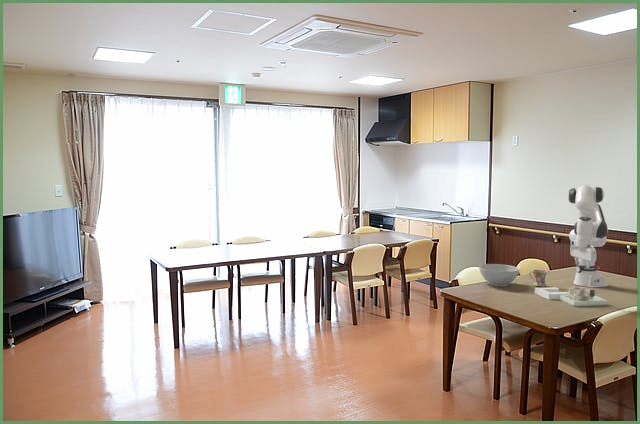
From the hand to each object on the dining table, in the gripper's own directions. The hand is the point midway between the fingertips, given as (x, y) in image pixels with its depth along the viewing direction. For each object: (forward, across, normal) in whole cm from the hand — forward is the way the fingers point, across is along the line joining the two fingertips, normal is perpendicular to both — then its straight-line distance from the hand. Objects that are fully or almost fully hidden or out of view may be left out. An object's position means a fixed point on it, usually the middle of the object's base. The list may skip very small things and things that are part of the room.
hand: (582, 266), depth 315 cm
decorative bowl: (+23, +50, +28) cm, 62 cm away
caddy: (+22, 0, -1) cm, 22 cm away
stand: (+23, +17, +8) cm, 29 cm away
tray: (+23, 0, -2) cm, 23 cm away
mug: (+23, +44, +2) cm, 49 cm away
